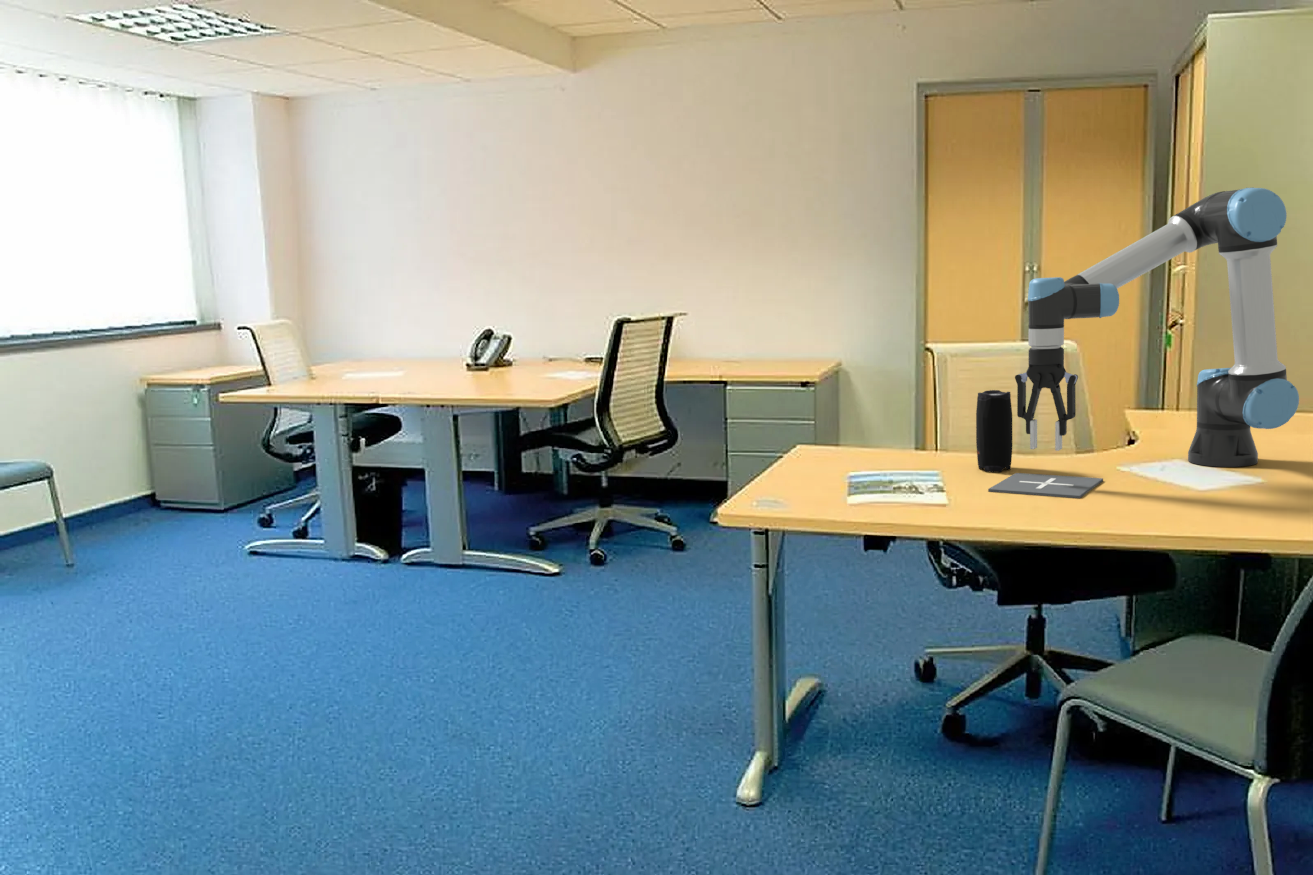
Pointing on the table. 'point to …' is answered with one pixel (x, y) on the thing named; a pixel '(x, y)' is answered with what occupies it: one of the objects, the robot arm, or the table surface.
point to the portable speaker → (994, 430)
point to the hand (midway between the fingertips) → (1046, 448)
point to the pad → (1046, 485)
